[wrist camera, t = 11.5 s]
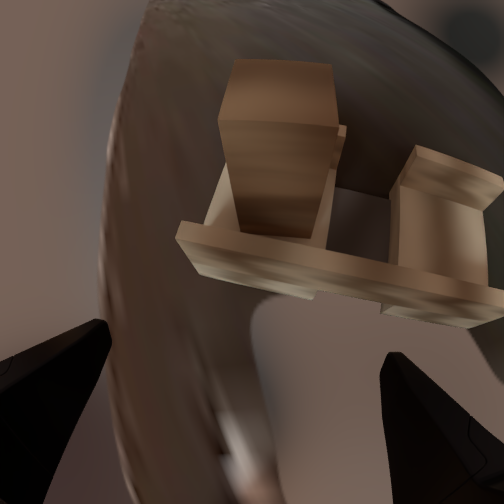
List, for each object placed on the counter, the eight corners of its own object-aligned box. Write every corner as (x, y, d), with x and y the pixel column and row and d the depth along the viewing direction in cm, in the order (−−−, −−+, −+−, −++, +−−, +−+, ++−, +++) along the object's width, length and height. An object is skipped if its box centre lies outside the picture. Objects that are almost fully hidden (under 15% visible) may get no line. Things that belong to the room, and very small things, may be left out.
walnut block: (310, 239, 21) (339, 127, 11) (240, 233, 22) (217, 120, 12) (312, 181, 23) (331, 64, 13) (248, 176, 24) (235, 59, 14)
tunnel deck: (466, 215, 25) (502, 177, 18) (467, 328, 21) (518, 310, 14) (237, 162, 28) (229, 107, 22) (199, 274, 24) (175, 238, 18)
